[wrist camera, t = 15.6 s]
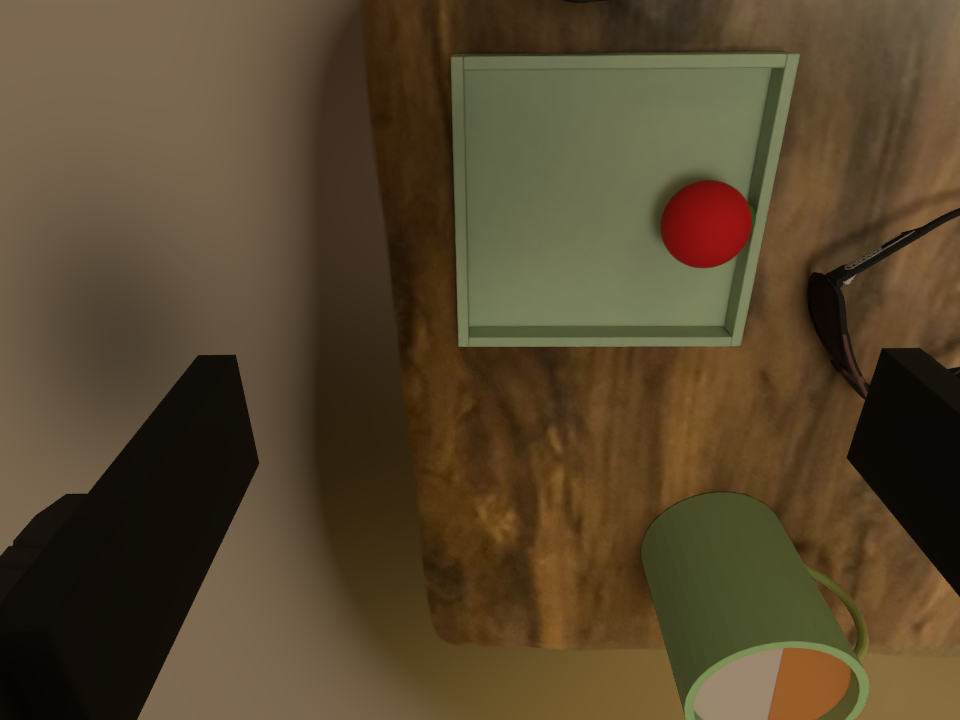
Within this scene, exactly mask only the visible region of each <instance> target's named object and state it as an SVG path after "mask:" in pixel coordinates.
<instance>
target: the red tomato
mask: <svg viewBox="0 0 960 720" xmlns="http://www.w3.org/2000/svg"><path fill="white" fill-rule="evenodd" d="M755 221H756V216H755V211H754V209H753V207H752V206H751V204H749V203H748V202H747V201H746V199H745V198H744V196H743V195H742V194H741V193H740V192H739V191H738V190H737V189H735V188H734V187H732V186H731V185H728V184H726V183H724V182H720V181H714V180H705V181H699V182H695V183H692V184H690V185H687V186H685V187H684V188H682V189H681V190H679V191H678V192H677V193H676V194H675V195H674V196H673V197H672V198H671V199H670V201H669V202H668V204H667V205H666V207H665V209H664V212H663V215H662V219H661V236H662V240H663V243H664V245H665V247H666V248H667V250H668V251H669V253H670V254H671V255H672V256H673V257H674V258H675V259H677V260H678V261H679V262H681V263H683V264H685V265H687V266H690V267H695V268H712V267H716V266H719V265H722V264H724V263H726V262H728V261H730V260H731V259H733V258H734V257H735V256H736V255H737V254H738V253H739V252H740V251H741V250H742V249H743V247H744V246H745V244H746V243H747V240H748V238H749V235H750V233H751V232H752V230H753V228H754V226H755Z"/></svg>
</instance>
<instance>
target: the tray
mask: <svg viewBox="0 0 960 720" xmlns="http://www.w3.org/2000/svg"><path fill="white" fill-rule="evenodd" d="M799 56H800V54H799V53H792V52H785V51H754V52H634V53H515V54H453V55H452V56H451V58H450V59H451V96H452V133H453V170H454V207H455V244H456V281H457V318H458V346H459V347H467V346H469V347H591V346H741V342H742V337H743V332H744V327H745V322H746V317H747V312H748V307H749V302H750V297H751V292H752V288H753V283H754V278H755V273H756V268H757V263H758V258H759V253H760V248H761V243H762V238H763V233H764V229H765V224H766V219H767V214H768V209H769V204H770V199H771V194H772V189H773V184H774V179H775V174H776V170H777V165H778V160H779V155H780V150H781V145H782V140H783V135H784V130H785V125H786V120H787V115H788V111H789V106H790V101H791V96H792V91H793V86H794V81H795V76H796V71H797V66H798V61H799ZM705 180H714V181H720V182H724V183H726V184H728V185H731V186H732V187H734V188H735V189H737V190H738V191H739V192H740V193H741V194H742V195H743V196H744V198H745V199H746V201H747V202H748V203H749V204H751V206H752V207H753V209H754V211H755V216H756V221H755V226H754V228H753V230H752V232H751V233H750V235H749V238H748V240H747V243H746V244H745V246H744V247H743V249H742V250H741V251H740V252H739V253H738V254H737V255H736V256H735V257H734V258H733V259H731V260H730V261H728V262H726V263H724V264H722V265H719V266H716V267H712V268H695V267H690V266H687V265H685V264H683V263H681V262H679V261H678V260H677V259H675V258H674V257H673V256H672V255H671V254H670V253H669V251H668V250H667V248H666V247H665V245H664V243H663V240H662V236H661V219H662V215H663V212H664V209H665V207H666V205H667V204H668V202H669V201H670V199H671V198H672V197H673V196H674V195H675V194H676V193H677V192H678V191H679V190H681V189H682V188H684V187H685V186H687V185H690V184H692V183H695V182H699V181H705Z"/></svg>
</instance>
